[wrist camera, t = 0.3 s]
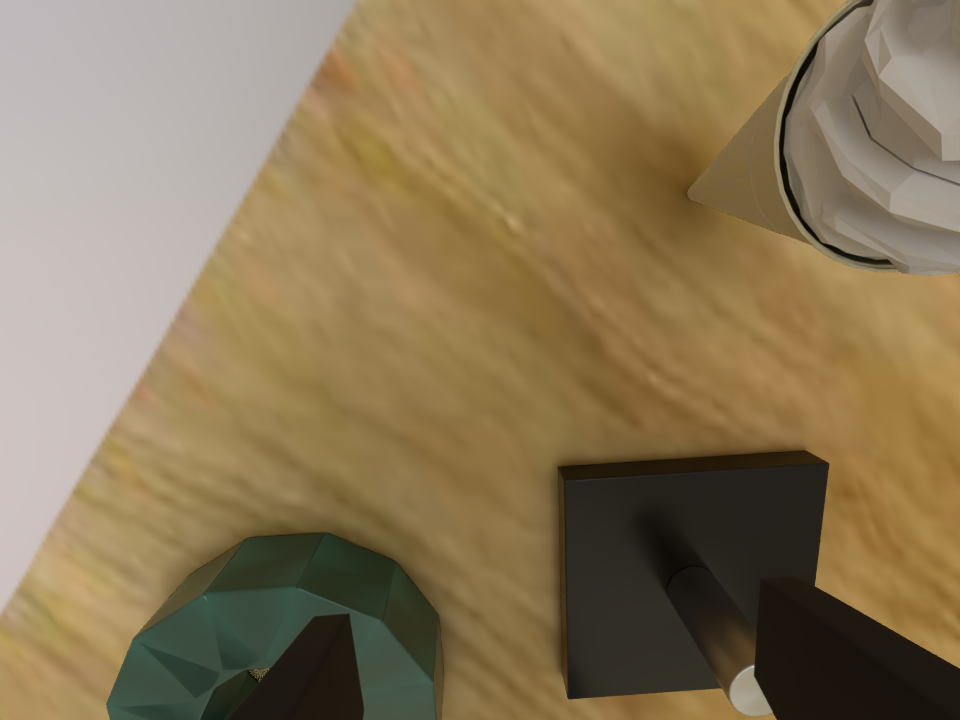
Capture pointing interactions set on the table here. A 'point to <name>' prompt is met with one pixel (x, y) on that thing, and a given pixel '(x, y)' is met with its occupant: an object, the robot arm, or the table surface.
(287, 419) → the table surface
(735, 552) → the peg stand
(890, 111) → the ice cream cone
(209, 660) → the ring
